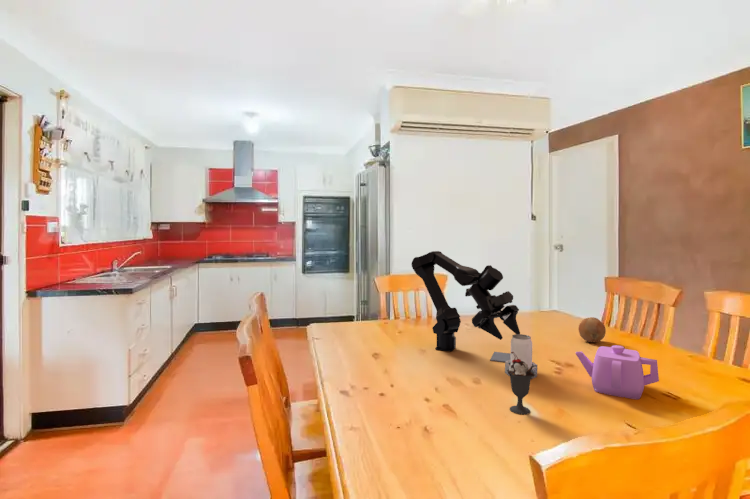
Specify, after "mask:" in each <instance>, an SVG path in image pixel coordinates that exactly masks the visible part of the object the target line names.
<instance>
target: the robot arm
mask: <svg viewBox="0 0 750 499" xmlns="http://www.w3.org/2000/svg"><path fill="white" fill-rule="evenodd" d="M436 265H437V266H439V267H440V268H442V269H443V270H445V271H446V272H448V273H449V274H451V275H452V276H453V278H454V280H455V281H456V282H457V283H458V284H459V285H460V286H462V287H465V286H467V287H468V286H470V287H468V288H465V294H464V296H465V297H472V298H473V300H474V302H475V304H477V305H476V306H475V307H476V309H477V310H478V311H477V313H475V315H474V316H472V318H471V324H472V325H473V327H474V328H477V329H481V330H483V331H484V332H487V333H488V334H489V335H491V336H493V337H495V338H496V339H498V340H502V339H503V335H502V334H501V332H500V330H499V328H498V327H497V325H496V323H495V319H497V318H499V319H500V320H501V321H502V323H503V324H504V325H505V326H506V327H507V328H508V329H510V330H511V332H513V333H514V335H515V334H521V331H520V329H519V328H520V327H519V324H518V321H517V315H518V312H519V311H520V308H518V306H517V305H516V304H513V301H514V295H513V294H512V293H511V292H510V291H509V290H508V291H507V290H506V291H505V292H502V294H499V295H496V294H495V295H492V294H491V292H490V291H493V290H494V289H495V288H496V287H497V286H498V285H499V283H500V282H501V281H502V280H503V279H504V275H503V273H502V272H501V271H499V270H498V269H497V268H495V267H493V266H492V265H486V266H485V267H484V269H483V271H482V272H479V270H477V269H476V268H474V267H471V266H467V265H462V264H460V263H458V262H457V261H455V260H454V259H451V258H450V257H449V256H447V255H445V254H443V253H442V251H439V250H435V251H434V250H433V251H430V252H427V253H426V254H423V255H420V256H415V257H414V258H413V259H412V261H411V268H412V269H413V271H414V273H415V274H416V276H418V277H419V278H420V279H421V280H422V281H423V283H424V286H425V288H426V290H427V292H428V294H429V296H430V299H431V301H432V304H433V305H434V307H435V309H436V315H435V320H436V323H435V324H434V325H433V326H432V333H433V334H434V335H435V334H436V347H435V350H438V351H446V352H453V350H455V348H456V347H457V346H456V344H457V341H456V340H457V337H456V336H455V333H458V331H459V328H460V326H461V322H462V320H461V315H460V314H459V312H458V309H457V307H451V306H450V305H449V303H448V301H447V299H446V298H445V295H444V293H443V290H442V289H441V287H440V284H439V282H438V280H437V278H436V276H435V266H436ZM511 303H512V304H511ZM505 305H506V306H505Z"/></svg>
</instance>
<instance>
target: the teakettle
mask: <svg viewBox="0 0 750 499" xmlns="http://www.w3.org/2000/svg"><path fill="white" fill-rule="evenodd" d="M575 355H576V357H577V358H578V360H579V361H580V363H581V364H582V366H583V367H584V369H585V371H586V372H587V374H588V376H589V377H590V378H591V383H592V387H593V390H594V392H595V393H598V392H599V394H603V393H604V395H609V396H614V397H620V398H624V397H625V399H631V400H640V398H641V397H642V394H643V392H644V388H645V386H648V385H650V384H651V385H652V384H654V383H658V382H660V378H659V377H660V376H659V368H658V367H659V366H658V359H652V358H647V357H641V355H640V352H639V351H637V350H633V349H628V348H625V347H624V346H623V345H616V344H615V345H611V346H603V345H602V346H599V347H598V348H597V350H596V352H595V356H594V359H593V362H592V361H591V360H590V359H589V358H588V356H587V355H585V353H584V352H583V351H581V350H580V351H575ZM643 365H647V366H650V369H649V370H650V371H649V372H650V373H648V374H645V375H644V368H643Z"/></svg>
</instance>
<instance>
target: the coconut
mask: <svg viewBox="0 0 750 499" xmlns="http://www.w3.org/2000/svg"><path fill="white" fill-rule="evenodd" d="M606 332H607V330H606V326H605V324H604V323H603V322H602V321H601V320H600V319H599V318H597V317H587V318H586V317H585V318H584V319H582V320H581V321H580V323H579V324H578V333H579V336H580V337H581V339H583V340H584V341H585V342H587V343H598V342H601V341H602V340H603V339H604V337H606Z"/></svg>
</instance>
